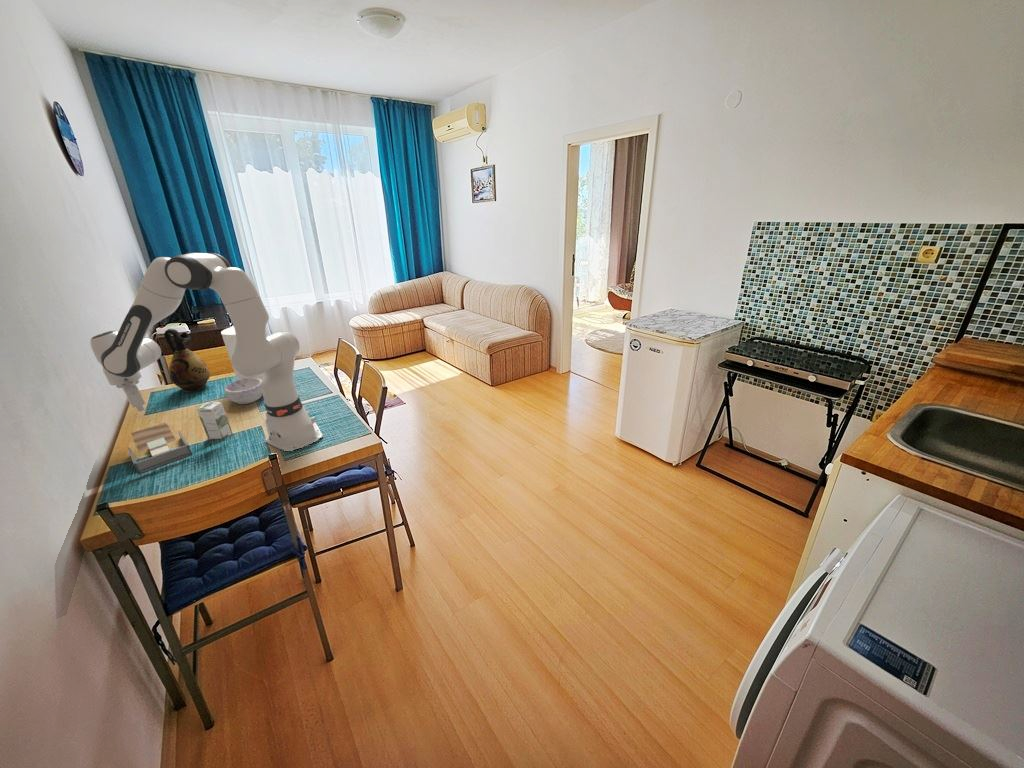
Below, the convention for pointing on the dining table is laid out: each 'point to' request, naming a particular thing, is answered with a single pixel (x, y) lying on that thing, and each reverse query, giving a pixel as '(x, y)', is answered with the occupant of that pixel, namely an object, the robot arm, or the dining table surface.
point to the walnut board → (152, 435)
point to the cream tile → (159, 450)
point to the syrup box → (214, 420)
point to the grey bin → (162, 458)
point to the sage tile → (157, 443)
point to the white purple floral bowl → (244, 390)
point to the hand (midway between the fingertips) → (141, 409)
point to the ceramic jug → (185, 364)
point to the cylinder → (230, 344)
